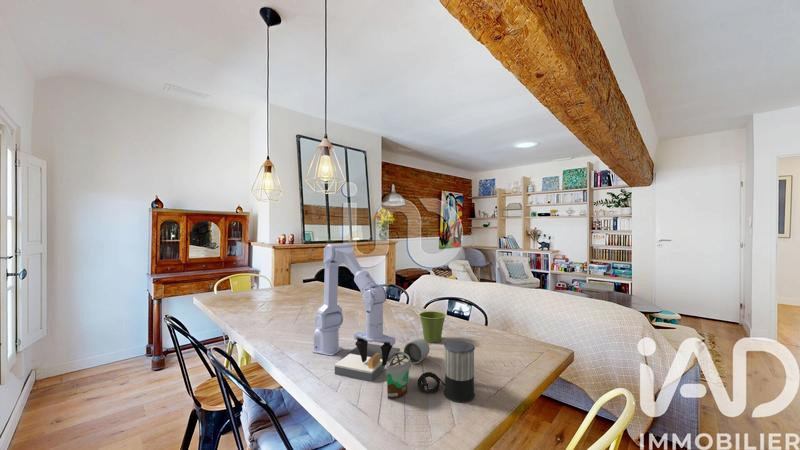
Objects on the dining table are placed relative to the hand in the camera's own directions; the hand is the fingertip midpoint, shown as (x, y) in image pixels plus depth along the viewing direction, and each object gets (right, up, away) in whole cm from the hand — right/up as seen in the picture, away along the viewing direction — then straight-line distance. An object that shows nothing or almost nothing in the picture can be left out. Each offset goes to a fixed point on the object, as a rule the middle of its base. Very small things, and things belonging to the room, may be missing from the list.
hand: (374, 362), depth 108 cm
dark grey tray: (-5, -4, +2) cm, 7 cm away
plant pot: (+23, -4, +32) cm, 39 cm away
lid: (-5, -1, +2) cm, 6 cm away
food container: (+9, -4, -11) cm, 15 cm away
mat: (-2, -4, +19) cm, 19 cm away
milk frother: (+23, -4, -11) cm, 26 cm away
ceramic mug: (+14, -4, +12) cm, 19 cm away
